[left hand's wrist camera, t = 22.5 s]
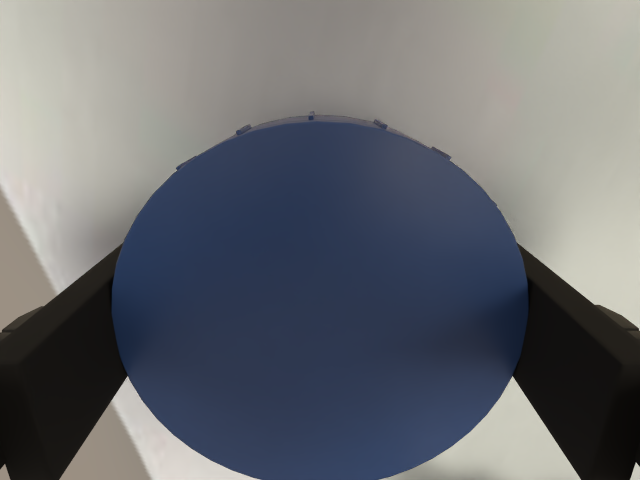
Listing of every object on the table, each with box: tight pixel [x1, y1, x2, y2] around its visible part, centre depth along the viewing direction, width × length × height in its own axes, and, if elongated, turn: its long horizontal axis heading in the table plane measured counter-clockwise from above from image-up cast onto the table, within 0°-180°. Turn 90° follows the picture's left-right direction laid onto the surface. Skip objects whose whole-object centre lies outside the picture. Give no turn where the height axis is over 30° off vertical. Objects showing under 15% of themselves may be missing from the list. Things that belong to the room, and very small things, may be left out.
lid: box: [111, 112, 529, 480], centre depth 11 cm, size 10×10×2 cm
